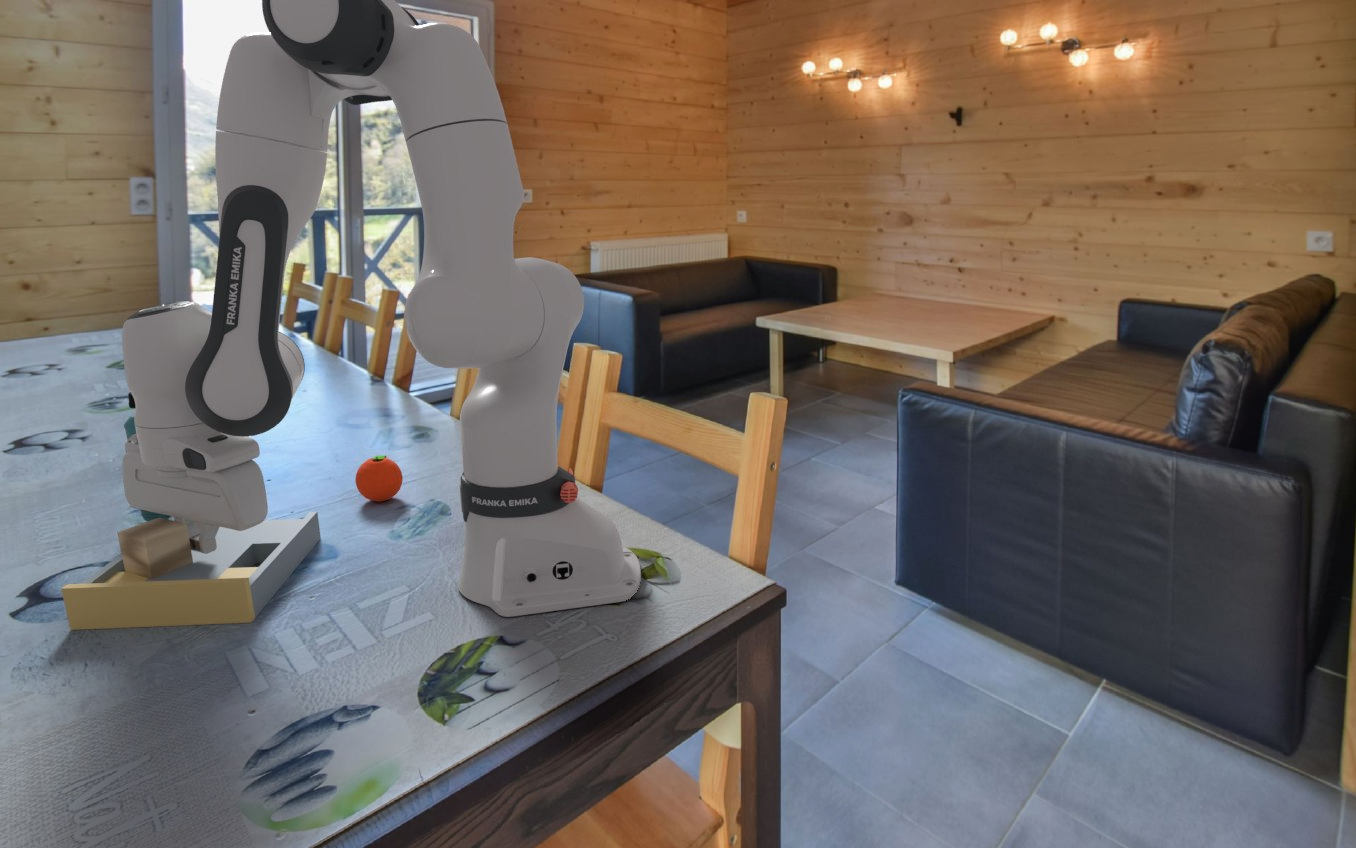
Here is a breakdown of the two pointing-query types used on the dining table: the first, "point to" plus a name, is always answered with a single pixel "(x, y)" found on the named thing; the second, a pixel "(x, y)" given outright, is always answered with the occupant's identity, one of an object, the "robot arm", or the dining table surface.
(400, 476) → the clementine
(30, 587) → the dining table surface
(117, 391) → the dining table surface
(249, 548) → the tray
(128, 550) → the cube
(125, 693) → the dining table surface
